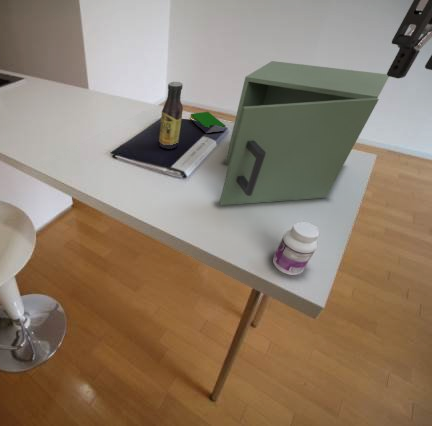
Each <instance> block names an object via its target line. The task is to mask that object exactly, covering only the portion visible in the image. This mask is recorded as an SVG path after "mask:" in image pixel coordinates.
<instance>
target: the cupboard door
mask: <svg viewBox="0 0 432 426" xmlns="http://www.w3.org/2000/svg"><path fill="white" fill-rule="evenodd" d="M379 100H380V99H379V98H364V99H349V100H334V101H320V102H305V103H290V104H276V105H261V106H246V107H243V108H242V112H241V116H240V120H239V124H238V128H237V132H236V136H235V141H234V145H233V149H232V153H231V157H230V161H229V164H227V169H226V173H225V178H224V182H223V185H222V190H221V194H220V198H219V202H218V204H219V205H220V206H232V205H245V204H246V205H247V204H259V203H261V204H262V203H271V202H272V203H273V202H285V201H287V202H288V201H301V200H313V199H326V198H327V196H328V194H329V193H330V190H332V189H331V188H332V187H333V185H334V183H335V182H336V179H337V177H338V176H339V174H340V172H341V170H342V169H343V167H344V165H345V163H346V161H347V159H348V157H349V156H350V154H351V152H352V150H353V148H354V146H355V145H356V143H357V141H358V140H359V139H358V138H359V137H360V136H361V133H362V131H363V130H364V128H365V127H366V124H367V122H368V120H369V119H370V116H371V115H372V113H373V111H374V110H375V107H376V105H377V104H378V102H379Z"/></svg>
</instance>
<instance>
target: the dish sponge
mask: <svg viewBox="0 0 432 426" xmlns="http://www.w3.org/2000/svg"><path fill="white" fill-rule="evenodd" d="M190 117H191V118H192V119H194V120H196V121H198V122H200V123H201V124H202V125H204V126H205V127H208V128H209V127H210V125H218V126H222V127H225V128H226V124H225V123H224V122H222V121H221V120H220V119H218V118H217V117H215V115H214V114H212V113H210V112H209V111H203V112H202V111H201V112H194V113H190ZM190 117H189V120H190V121H191V120H192V119H191V118H190Z"/></svg>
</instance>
